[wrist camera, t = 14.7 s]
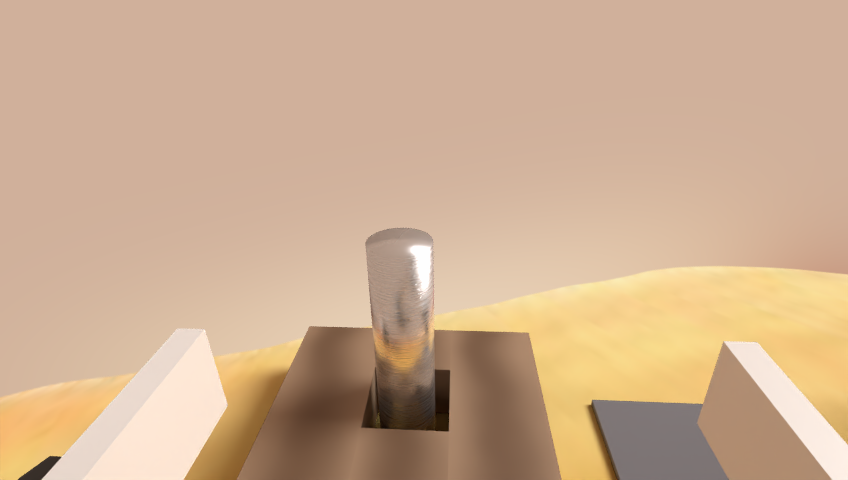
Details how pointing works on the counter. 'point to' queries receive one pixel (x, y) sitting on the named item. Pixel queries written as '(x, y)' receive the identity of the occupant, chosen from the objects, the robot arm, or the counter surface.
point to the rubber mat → (656, 441)
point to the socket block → (407, 449)
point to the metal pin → (403, 326)
